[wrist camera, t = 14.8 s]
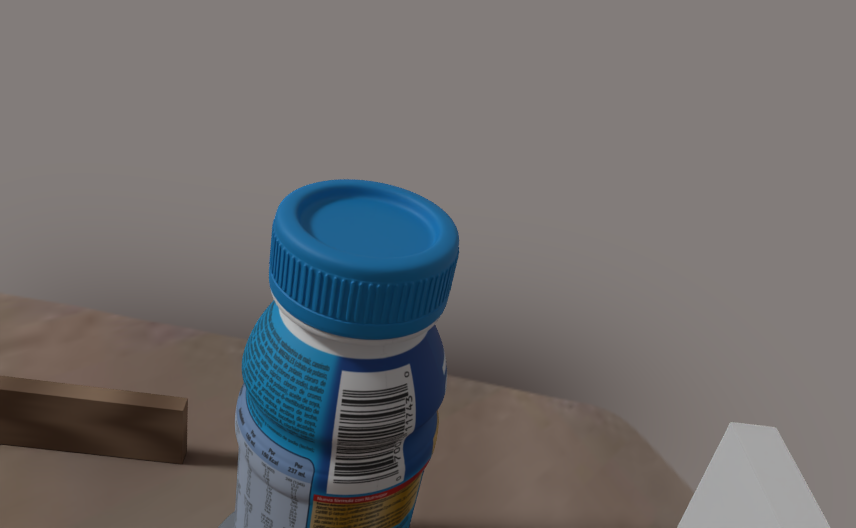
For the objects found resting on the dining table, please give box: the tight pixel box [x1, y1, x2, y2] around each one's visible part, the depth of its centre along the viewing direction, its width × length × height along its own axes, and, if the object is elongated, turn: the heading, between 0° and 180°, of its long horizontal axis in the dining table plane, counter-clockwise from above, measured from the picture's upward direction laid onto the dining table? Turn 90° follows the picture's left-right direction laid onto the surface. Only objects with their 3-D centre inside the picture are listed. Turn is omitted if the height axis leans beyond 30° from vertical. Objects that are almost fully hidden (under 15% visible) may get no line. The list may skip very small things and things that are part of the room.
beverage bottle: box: [234, 179, 459, 528], centre depth 32 cm, size 8×8×20 cm
